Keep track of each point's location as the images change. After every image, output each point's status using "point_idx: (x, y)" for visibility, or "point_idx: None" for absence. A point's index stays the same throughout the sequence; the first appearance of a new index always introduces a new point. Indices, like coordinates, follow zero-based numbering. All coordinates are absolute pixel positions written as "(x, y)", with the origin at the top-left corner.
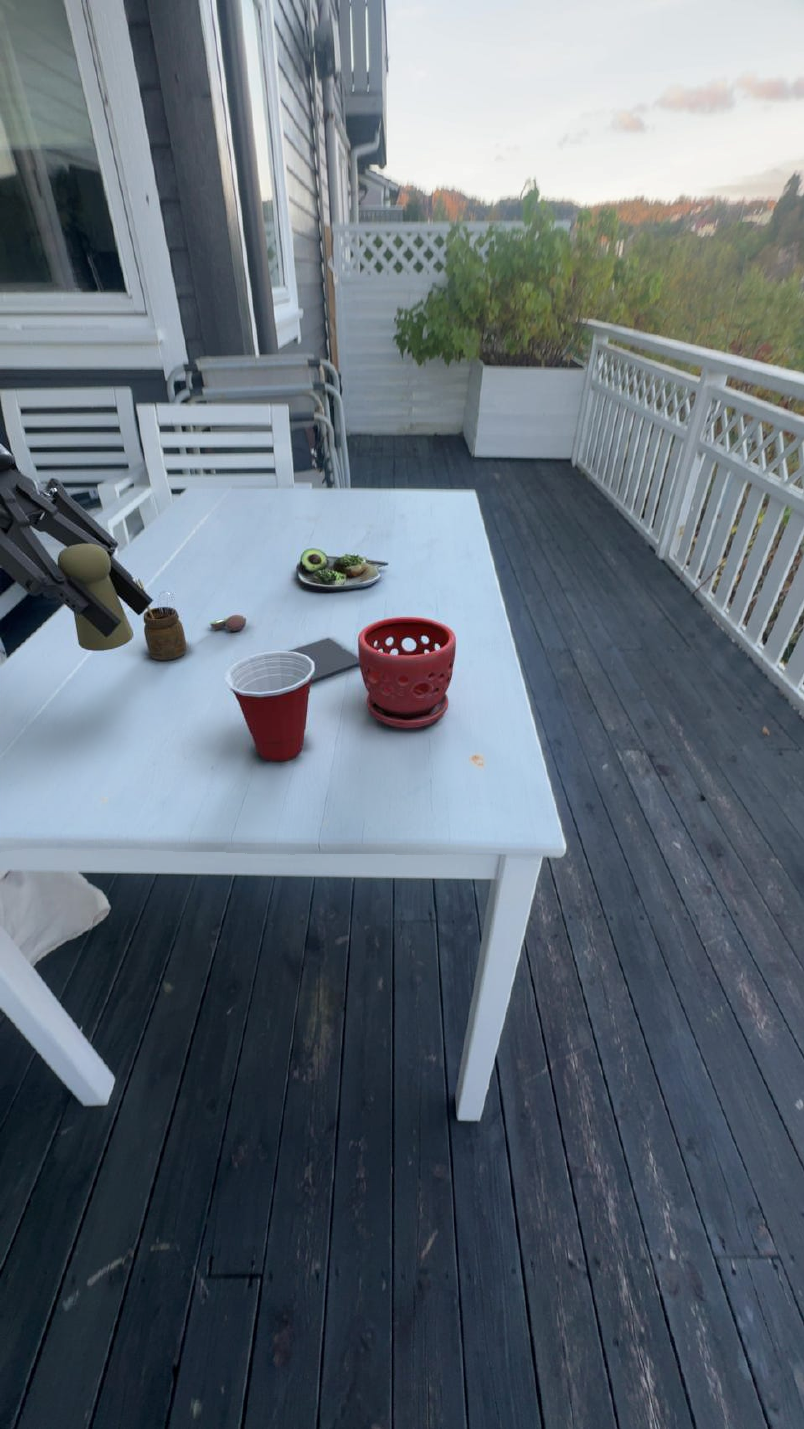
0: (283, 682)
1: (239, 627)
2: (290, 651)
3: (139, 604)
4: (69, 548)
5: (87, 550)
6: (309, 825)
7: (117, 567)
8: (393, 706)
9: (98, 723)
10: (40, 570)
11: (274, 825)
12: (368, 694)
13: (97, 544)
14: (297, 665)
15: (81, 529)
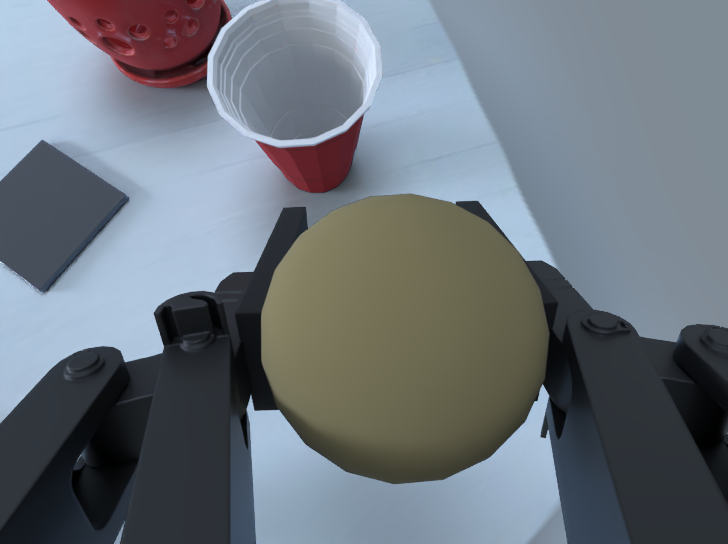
0: (247, 115)
1: None
2: (20, 271)
3: None
4: (450, 373)
5: (427, 238)
6: (445, 74)
7: (262, 279)
8: (220, 10)
9: (348, 494)
10: (718, 372)
11: (462, 107)
12: (167, 80)
13: (191, 382)
14: (232, 62)
15: (132, 512)
